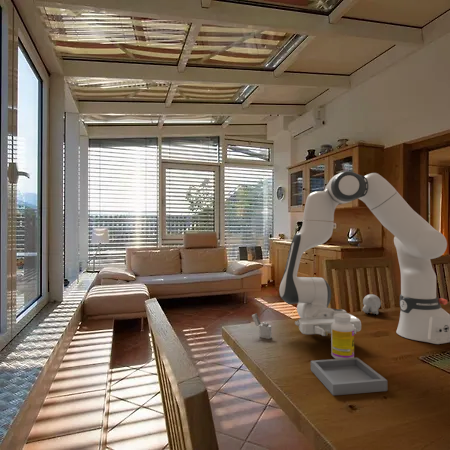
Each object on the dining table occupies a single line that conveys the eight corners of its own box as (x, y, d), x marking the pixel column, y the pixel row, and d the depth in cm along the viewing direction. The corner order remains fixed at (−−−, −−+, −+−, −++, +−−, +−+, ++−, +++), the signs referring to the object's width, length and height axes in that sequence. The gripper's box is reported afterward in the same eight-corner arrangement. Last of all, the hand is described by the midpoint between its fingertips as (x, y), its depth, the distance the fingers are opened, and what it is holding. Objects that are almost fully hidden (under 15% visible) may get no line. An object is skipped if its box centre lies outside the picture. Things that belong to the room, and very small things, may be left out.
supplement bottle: (356, 362, 100) (355, 318, 99) (332, 360, 101) (332, 317, 101) (352, 353, 106) (351, 312, 106) (330, 352, 107) (329, 311, 107)
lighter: (271, 337, 122) (271, 315, 121) (269, 339, 120) (269, 316, 120) (253, 334, 125) (253, 312, 125) (251, 335, 124) (251, 313, 124)
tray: (357, 366, 97) (357, 357, 97) (387, 390, 83) (387, 380, 83) (310, 370, 95) (310, 360, 95) (333, 395, 81) (333, 384, 81)
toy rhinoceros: (383, 318, 153) (385, 299, 155) (377, 313, 144) (379, 293, 147) (366, 315, 157) (369, 297, 160) (359, 310, 149) (362, 291, 151)
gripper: (292, 312, 117) (307, 324, 104) (348, 309, 120) (370, 320, 106) (293, 330, 117) (307, 344, 104) (348, 327, 120) (370, 340, 106)
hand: (339, 332), depth 105 cm, fingers open, 8 cm apart
